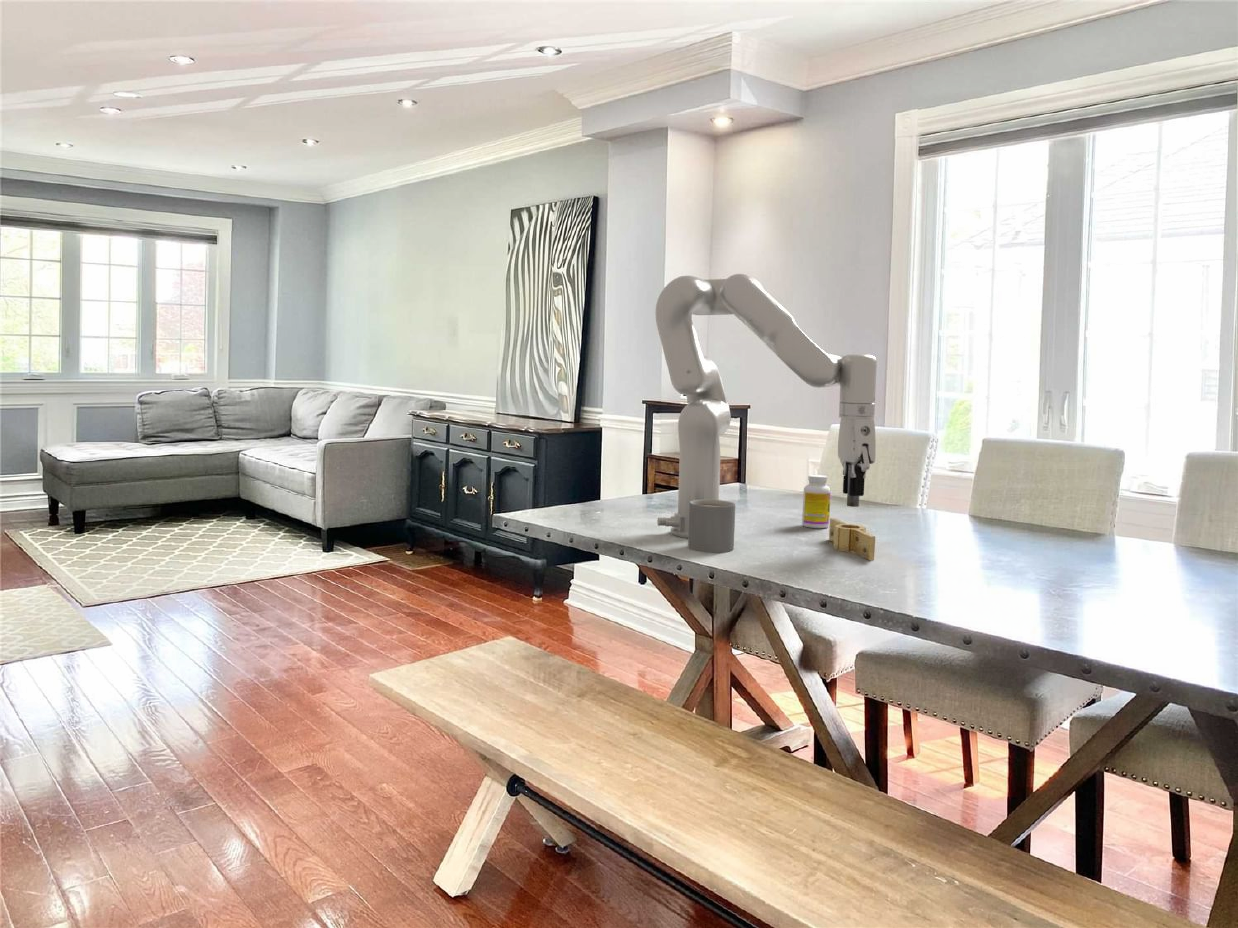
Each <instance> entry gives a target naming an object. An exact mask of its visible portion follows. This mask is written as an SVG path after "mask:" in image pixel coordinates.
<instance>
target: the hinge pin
mask: <svg viewBox="0 0 1238 928" xmlns="http://www.w3.org/2000/svg"><path fill="white" fill-rule="evenodd" d="M858 463H861V460H859V461H858ZM857 467H860V466H856V469H857ZM850 478H852V463H849V467H848V490H847V494H846V495H847V496H846V507H851V508H852V507H853V508H857V507H860V496H850V495H849V486H850Z"/></svg>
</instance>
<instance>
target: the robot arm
mask: <svg viewBox="0 0 1238 928" xmlns="http://www.w3.org/2000/svg"><path fill="white" fill-rule="evenodd" d="M692 315H694V316H721V315H723V316H724V315H726V316H727V315H728V316H729V315H730V316H731V315H734V316H735V318H737V319H738V320H740V321H741V322H742V323H743V324H744V326H746V327H747V328H748V329H749V330H750V331H752V332H753V334H755V335H756V336H757V338H759V339H760V340H761V341H762V342H763V343H764V345H766V346H767V348H768V349H769V350H771V352H773V353H774V354H775V356H776V357H777V358H779V359H780V361H782V363H784V364H785V365H786V366H787V367H788V368H789V369H790V370H791V371H792V372H793V373H794V374H796V376H798V378H800V379H801V380H802V381H803V382H804V383H806V384H807V385H809V386H811V387H812V388H829V387H836V386H838V387H840V388H839V408H838V409H839V410H838V418H840V421H839V428H838V429H839V430H838V431H839V432H838V440H837V457H838V459H839V460H840V461H839V462H840V463H841V466H842V475H843V480H842V481H843V482H842V494H845V495H847V490H848V467H849V463H852V478H850V486H849V495H850V496H859V497H863V496H864V494H865V481H866V480H865V478H866V475H867V474H866V473H867V471H868V470H869V469H870V466H871V465H873V464H875V462H876V451H877V449H876V445H877V444H876V426H875V425H876V424H875V412H876V411H875V409H876V408H875V407H876V389H877V387H876V386H877V366H878V365H877V362H878V361H877V358H876V357H875V356H873V355H872V354H860V353H859V354H846V355H841V354H833V353H827V352H825V351H824V350H823V349H821V347H819V346H818V345H817V344H816V343H815V342H814V341H813V340H812V339H810V338H809V337H808V335H807V334H806V333H804V332H803V330H802V329H801V328H800V327H799V325H798V324H797V323H796V321H795V318H794V317H793V315H792V314H791V313H790V312H789V311H788V310H787V309H786V308H785V307H783V305H781V304H780V303H779V302H778V301H777V300H776V299H775V298H773V297H772V296H771V295H770V293H768V292H767V291H766V290H765V289H764V287H763V286H762V284H761V283H760V282H759V280H757V279H756V278H755V277H752V276H749V275H748V274H744V273H735V274H732V275H730V276H729V277H727V278H719V279H717V278H716V279H713V278H712V279H704V278H699V277H697V276H693V275H682V276H678V277H676V278H674V279H672V280H671V281H670V282H669V283H667V284H666V285H665V287H664V288H663V289H662V291H661V292H660V294H659V296H658V298H657V301H656V305H655V322H656V327H657V331H658V335H659V339H660V343H661V346H662V350H663V355H664V358H665V362H666V366H667V370H668V374H669V377H670V382H671V385H672V386H673V388H674V390H675V391H676V392H677V393H679V394H681V395H684V396H686V400H687V404H686V405H685V406H684V407H683V409H682V410H681V412H680V415H679V417H678V421H677V433H678V443H679V444H678V445H679V459H678V460H679V463H678V464H679V466H678V468H679V470H678V498H677V499H678V500H677V512H675V513H674V515H673V516H670V517H657V526H658V527H659V526H661V527H662V526H663V527H670V534H671V535H673V536H676V537H680V538H685V539H688V536H689V507H690V502H691V501H694V500H720V483H721V482H720V481H721V479H720V478H721V477H720V476H721V445H720V444H721V443H720V441H721V440H720V436H722V435H724V434H726V431H728V429H729V427H730V424H731V421H732V417H731V414H732V413H731V410H730V406H729V402H728V399H727V398H728V397H727V394H726V390H725V388H724V384H723V383H724V382H723V379H722V377H721V373H720V371H719V368H718V367H717V365H716V363H715V362H714V361H713V360H712V359H711V358H709V357H708V356H706V355H704V354H703V351H702V348H701V344H700V341H699V336H698V333H697V330H696V328H695V326H694V323H693V320H692ZM859 460H861V463H858V461H859ZM856 466H860V467H857V469H856Z"/></svg>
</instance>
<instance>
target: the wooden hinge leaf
mask: <svg viewBox="0 0 1238 928" xmlns="http://www.w3.org/2000/svg"><path fill="white" fill-rule="evenodd" d="M838 524H847V522H846V523H845V522H843V521H842V520H840V519H837V518H834V517H833V518H832V517H831V518H830V517H829V529H828V530H829V533H828V540H829V541H831V542H833V543H834V527H835V525H838Z"/></svg>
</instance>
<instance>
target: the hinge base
mask: <svg viewBox="0 0 1238 928" xmlns="http://www.w3.org/2000/svg"><path fill="white" fill-rule="evenodd" d="M866 531H867V527H866V526H864V525H860V524H854V523H853V524H852V523H846V524H838V525H835V527H834V542H833V549H835V550H836V549H837V551H840V552H841V551H842V552H848V553H854V554H856V555H858V556H860V557H861V558H864V559H866V560H868V561H874V560H875V550H876V549H875V548H876V547H875V546H876V536H875V535H874V534H872V533H871V534H870V533H869V532H866Z"/></svg>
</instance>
